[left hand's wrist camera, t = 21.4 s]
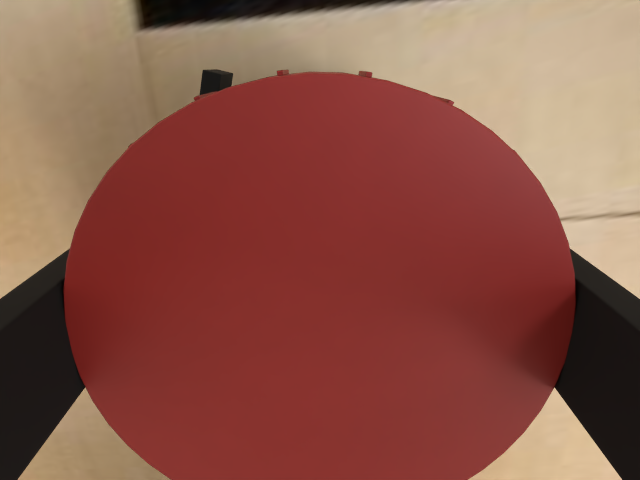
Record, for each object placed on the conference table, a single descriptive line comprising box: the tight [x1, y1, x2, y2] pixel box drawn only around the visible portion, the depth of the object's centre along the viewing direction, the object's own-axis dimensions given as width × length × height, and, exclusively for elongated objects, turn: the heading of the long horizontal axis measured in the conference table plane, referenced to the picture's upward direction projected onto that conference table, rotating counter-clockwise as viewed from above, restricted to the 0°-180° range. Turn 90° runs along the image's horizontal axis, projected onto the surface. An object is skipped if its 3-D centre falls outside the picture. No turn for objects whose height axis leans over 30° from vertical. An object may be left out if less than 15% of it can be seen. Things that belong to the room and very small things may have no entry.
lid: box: [63, 70, 576, 480], centre depth 11 cm, size 11×11×2 cm
